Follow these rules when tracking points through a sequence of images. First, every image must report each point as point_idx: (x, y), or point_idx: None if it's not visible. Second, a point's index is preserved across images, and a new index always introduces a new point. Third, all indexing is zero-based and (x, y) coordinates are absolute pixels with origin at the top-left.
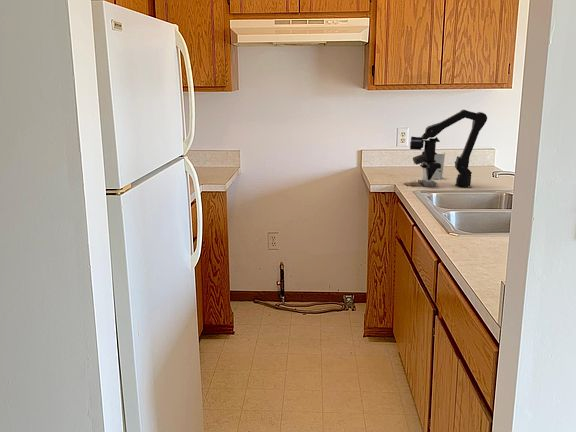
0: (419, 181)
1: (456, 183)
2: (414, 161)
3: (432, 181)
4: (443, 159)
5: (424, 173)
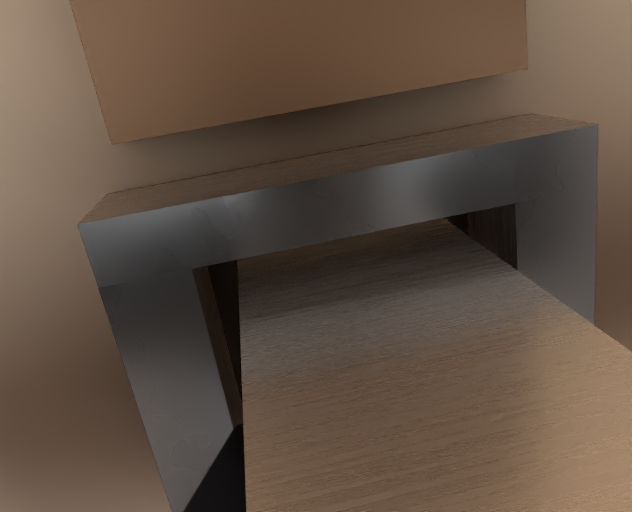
0: (462, 144)
1: None
2: None
3: None
4: None
5: (454, 445)
